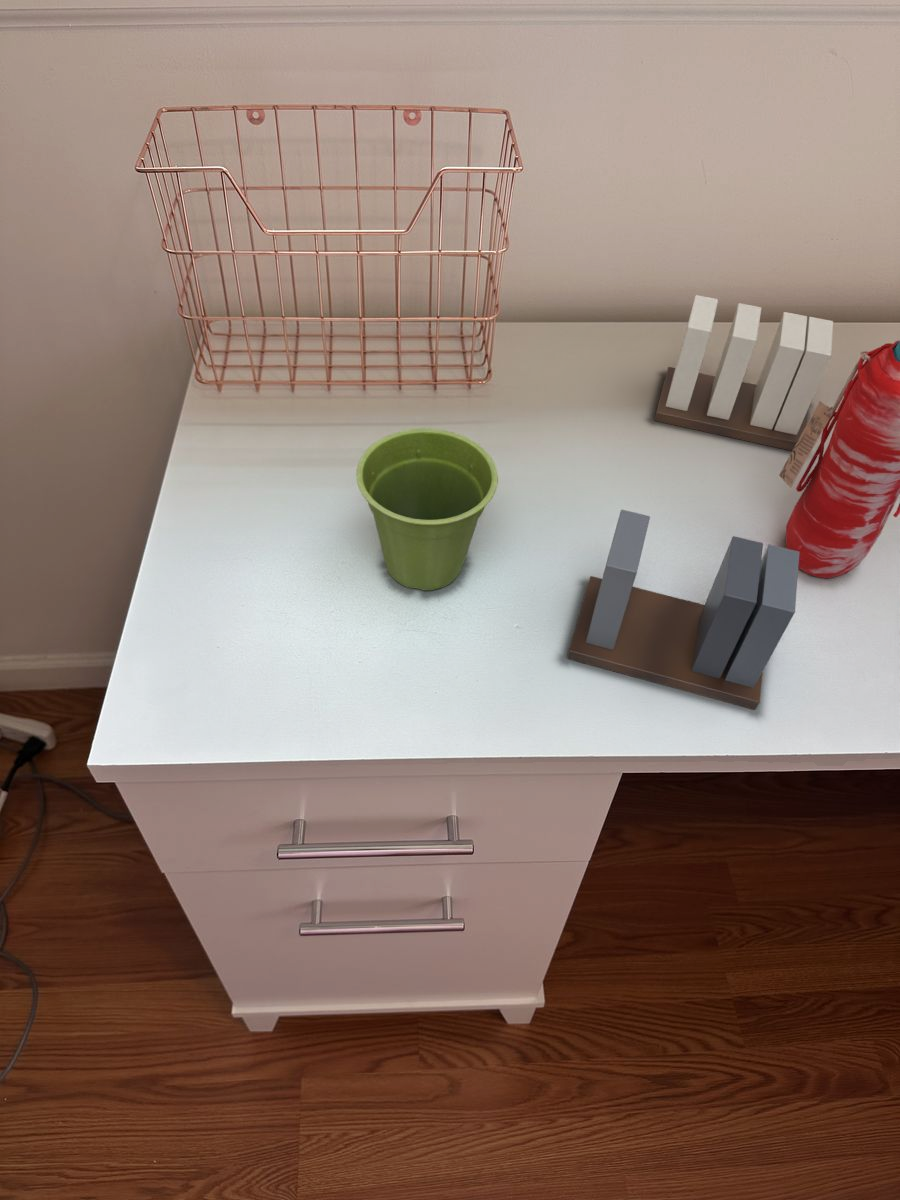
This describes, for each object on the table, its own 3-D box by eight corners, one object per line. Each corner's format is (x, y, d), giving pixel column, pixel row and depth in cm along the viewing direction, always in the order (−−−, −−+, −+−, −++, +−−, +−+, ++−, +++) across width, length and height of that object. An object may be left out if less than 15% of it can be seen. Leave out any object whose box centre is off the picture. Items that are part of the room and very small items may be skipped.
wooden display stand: (805, 404, 98) (843, 316, 89) (801, 453, 92) (841, 364, 83) (666, 374, 100) (689, 287, 92) (654, 420, 95) (677, 331, 86)
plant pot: (447, 632, 75) (451, 544, 66) (336, 577, 79) (327, 486, 70) (511, 549, 82) (523, 459, 73) (407, 502, 85) (406, 410, 77)
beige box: (734, 386, 97) (761, 307, 90) (728, 420, 93) (756, 340, 86) (713, 381, 98) (738, 302, 90) (706, 415, 94) (732, 335, 86)
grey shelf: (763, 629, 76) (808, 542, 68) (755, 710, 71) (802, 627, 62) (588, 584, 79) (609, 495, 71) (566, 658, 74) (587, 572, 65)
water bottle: (730, 525, 85) (823, 295, 65) (786, 496, 88) (891, 267, 68) (825, 606, 78) (959, 377, 59) (881, 571, 81) (1026, 343, 62)
